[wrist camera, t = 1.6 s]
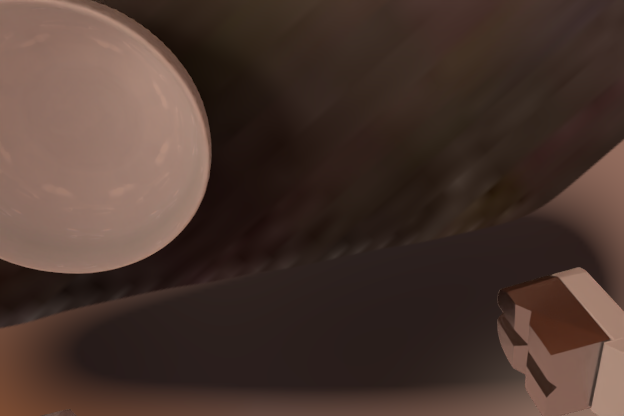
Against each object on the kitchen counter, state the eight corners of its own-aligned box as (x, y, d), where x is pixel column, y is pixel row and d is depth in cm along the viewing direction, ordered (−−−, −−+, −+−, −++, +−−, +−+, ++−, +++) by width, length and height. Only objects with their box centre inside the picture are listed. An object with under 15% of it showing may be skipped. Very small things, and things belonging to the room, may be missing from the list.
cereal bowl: (205, -19, 32) (200, -3, 26) (221, 214, 40) (219, 268, 34) (-94, -23, 30) (-177, -8, 24) (-14, 224, 38) (-61, 283, 32)
